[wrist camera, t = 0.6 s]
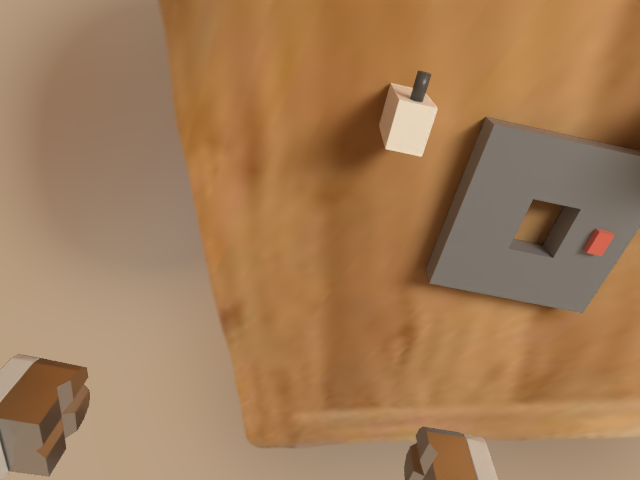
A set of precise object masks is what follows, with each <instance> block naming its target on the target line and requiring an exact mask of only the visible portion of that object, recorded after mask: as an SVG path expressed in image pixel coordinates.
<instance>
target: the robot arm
mask: <svg viewBox="0 0 640 480" xmlns="http://www.w3.org/2000/svg"><path fill="white" fill-rule="evenodd" d="M87 378H88V373H87V368H86V367H81V366H77V365H72V364H67V363H62V362H57V361H52V360H47V359H42V358H37V357H31V356H27V355H21V354H18V355H16V356H14V357H13V358H11V359H10V360H9V361H8V362H7V363H6V364H5V365H4V366H3V367H2V369H1V370H0V480H1V479H2V478H4V477H5V476H6V475H8V474H9V471H12V472H19V473H27V474H34V475H42V476H50V474H51V473H52V471H53V469H54V468H55V466H56V464H57V463H58V461H59V460H60V458H61V456H62V455H63V453H64V451H65V450H66V444H65V438H66V437H68V436H69V435H71V434H73V433H74V432H76V431H77V430H78V428H79V427H80V425H81V423H82V421H83V420H84V417H85V414H86V412H87V409H88V406H89V400H90V392H89V389H88V388H87V387H86V386H85V385H84V383H85V381H86V380H87ZM416 439H417V443H416V444H414V445H412V446H410V448H409V450H408V452H407V455H406V460H405V466H404V476H405V480H498V478H497V475H496V472H495V469H494V466H493V463H492V460H491V457H490V454H489V451H488V448H487V445H486V442H485V440H484V439H483V438H482V437H479V436H473V435H468V434H461V433H459V432H453V431H447V430H441V429H435V428H428V427H421V428H420V429H419V430H418V432H417V434H416Z"/></svg>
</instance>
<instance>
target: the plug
mask: <svg viewBox="0 0 640 480" xmlns="http://www.w3.org/2000/svg"><path fill="white" fill-rule="evenodd" d="M430 77H431V74H430V73H427V72H423V71H418V73H417V76H416V79H415V83H414V86H413V88H411V87H407V86H402V85H398V84H393V83H390V87H389V90H388V94H387V98H386V101H385V105H384V109H383V112H382V116H381V120H380V123H379V128H380V131H381V135H382V139H383V143H384V146H385V149H388V150H392V151H397V152H402V153H407V154H411V155H416V156H421V157H422V155H423V152H424V149H425V146H426V143H427V140H428V137H429V134H430V131H431V128H432V125H433V122H434V119H435V116H436V113H437V110H438V108H437V106H436V105H435V104H434V103H433V101H432V100H431V99H430V98H429V97H428V95H427V94H426V90H427V87H428V84H429V80H430Z"/></svg>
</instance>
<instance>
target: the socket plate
mask: <svg viewBox="0 0 640 480" xmlns="http://www.w3.org/2000/svg"><path fill="white" fill-rule="evenodd" d="M533 199H535V200H539V201H544V202H549V203H554V204H558V205H563V206H564V207H563V209H562V211H561V213H560V214H559V216H558V218H557V220H556V222H555V224H554V226H553V227H552V229H551V231H550V233H549V235H548V237H547V238H546V240H545V242H544V244H543V245H540V244H536V243H531V242H526V241H521V240H516V239H514V237H515V235H516V233H517V231H518V229H519V227H520V225H521V223H522V221H523V219H524V217H525V215H526V213H527V211H528V209H529V207H530V205H531V203H532V201H533ZM639 227H640V151H639V150H634V149H629V148H625V147H620V146H616V145H611V144H607V143H602V142H598V141H593V140H589V139H584V138H579V137H575V136H570V135H566V134H561V133H557V132H552V131H548V130H543V129H538V128H534V127H529V126H525V125H520V124H516V123H511V122H507V121H502V120H498V119H493V118H488V117H485V120H484V123H483V125H482V128H481V130H480V133H479V135H478V138H477V140H476V143H475V145H474V148H473V150H472V153H471V155H470V158H469V161H468V163H467V166H466V168H465V171H464V173H463V176H462V178H461V181H460V183H459V186H458V188H457V191H456V194H455V196H454V199H453V201H452V204H451V206H450V209H449V211H448V214H447V216H446V219H445V221H444V224H443V226H442V229H441V232H440V234H439V237H438V239H437V242H436V244H435V247H434V249H433V252H432V254H431V257H430V259H429V262H428V264H427V267H426V274H427V277H428V280H429V283H430V284H435V285H440V286H445V287H450V288H455V289H461V290H466V291H471V292H476V293H481V294H486V295H491V296H497V297H502V298H507V299H512V300H517V301H522V302H527V303H533V304H538V305H543V306H548V307H553V308H558V309H564V310H569V311H574V312H579V313H583V312H584V310H585V309H586V307H587V306H588V304H589V303H590V301H591V300H592V298H593V297H594V295H595V294H596V292H597V291H598V289H599V288H600V286H601V285H602V283H603V282H604V280H605V279H606V277H607V276H608V274H609V273H610V271H611V270H612V268H613V267H614V265H615V264H616V262H617V261H618V259H619V258H620V256H621V255H622V253H623V252H624V250H625V249H626V247H627V246H628V244H629V243H630V241H631V239H632V238H633V236H634V235H635V233H636V232H637V230H638V229H639Z"/></svg>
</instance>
